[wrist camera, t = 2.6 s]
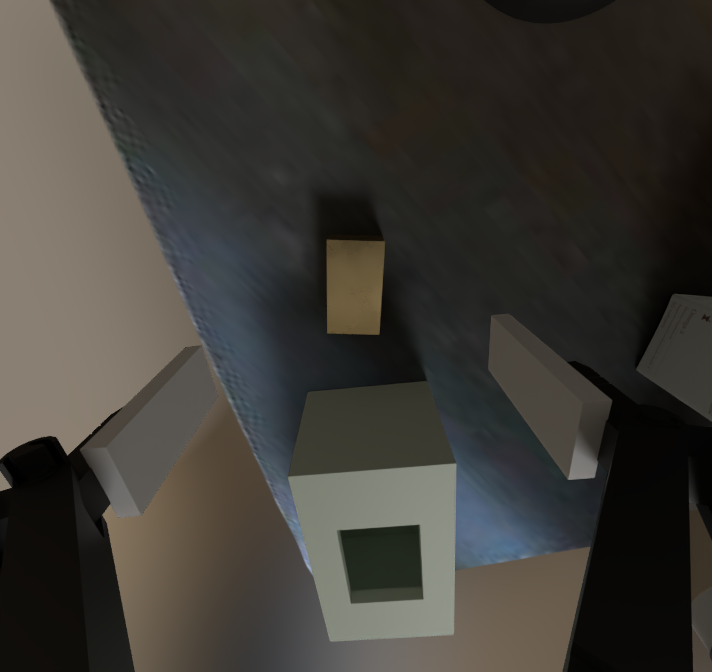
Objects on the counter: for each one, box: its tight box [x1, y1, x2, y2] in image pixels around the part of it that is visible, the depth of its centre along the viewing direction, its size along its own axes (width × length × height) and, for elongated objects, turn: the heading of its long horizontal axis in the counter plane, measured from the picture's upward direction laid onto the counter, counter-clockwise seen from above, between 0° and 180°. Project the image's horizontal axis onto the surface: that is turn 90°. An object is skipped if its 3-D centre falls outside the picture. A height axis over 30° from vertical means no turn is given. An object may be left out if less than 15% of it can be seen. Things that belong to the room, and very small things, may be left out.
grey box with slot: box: [288, 381, 456, 641], centre depth 31 cm, size 20×11×10 cm, turn 6°
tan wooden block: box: [327, 234, 385, 335], centre depth 26 cm, size 7×4×3 cm, turn 178°
